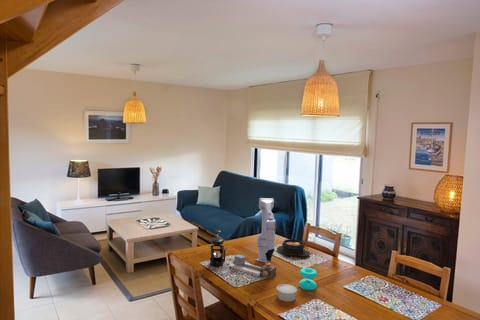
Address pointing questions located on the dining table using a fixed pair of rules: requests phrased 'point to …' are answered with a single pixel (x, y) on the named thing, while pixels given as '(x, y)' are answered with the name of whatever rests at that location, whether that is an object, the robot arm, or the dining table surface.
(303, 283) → the donuts
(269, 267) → the button
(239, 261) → the carriage
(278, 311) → the dining table surface
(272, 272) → the cabinet
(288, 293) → the ramekin
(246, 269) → the rail
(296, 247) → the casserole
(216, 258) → the french press
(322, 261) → the dining table surface
